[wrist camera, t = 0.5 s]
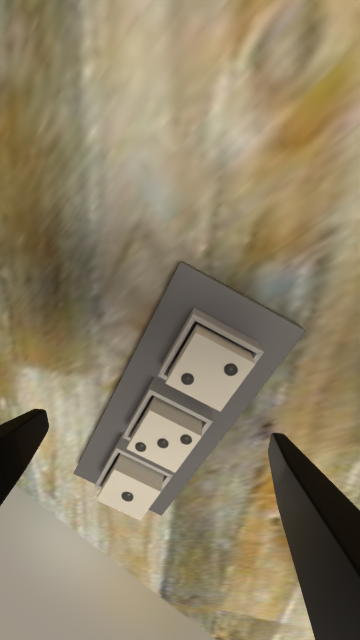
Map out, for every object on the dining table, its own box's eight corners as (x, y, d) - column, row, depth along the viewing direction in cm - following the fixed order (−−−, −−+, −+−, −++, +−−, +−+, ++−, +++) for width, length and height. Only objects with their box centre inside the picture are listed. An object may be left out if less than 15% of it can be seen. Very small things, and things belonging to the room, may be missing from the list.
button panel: (298, 325, 20) (317, 340, 17) (163, 502, 29) (158, 535, 26) (182, 261, 20) (177, 263, 16) (79, 462, 28) (63, 490, 25)
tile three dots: (202, 419, 21) (202, 437, 19) (177, 453, 22) (175, 473, 20) (154, 395, 21) (149, 410, 19) (133, 431, 22) (126, 449, 20)
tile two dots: (250, 352, 18) (255, 364, 16) (218, 396, 20) (220, 412, 18) (196, 323, 18) (195, 332, 16) (169, 370, 20) (165, 384, 18)
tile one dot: (164, 472, 23) (160, 493, 21) (144, 499, 25) (139, 521, 23) (121, 451, 23) (113, 470, 21) (104, 480, 25) (95, 500, 23)
